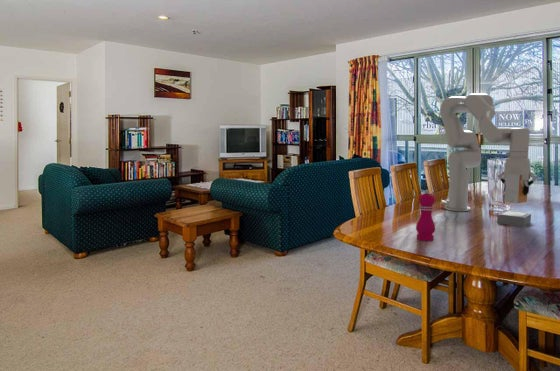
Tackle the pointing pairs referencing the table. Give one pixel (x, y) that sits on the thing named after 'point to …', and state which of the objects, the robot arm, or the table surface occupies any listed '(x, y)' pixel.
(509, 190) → the small box
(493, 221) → the table surface
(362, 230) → the table surface
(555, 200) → the table surface
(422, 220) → the pepper mill
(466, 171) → the robot arm
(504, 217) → the plinth
